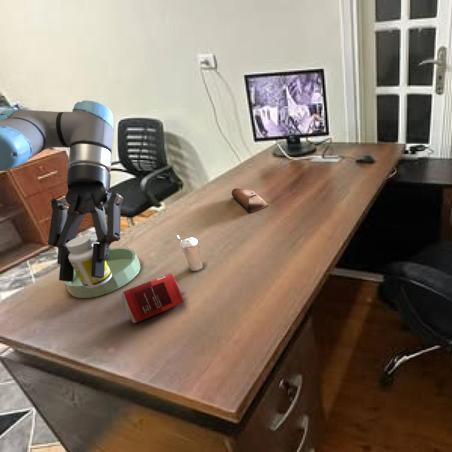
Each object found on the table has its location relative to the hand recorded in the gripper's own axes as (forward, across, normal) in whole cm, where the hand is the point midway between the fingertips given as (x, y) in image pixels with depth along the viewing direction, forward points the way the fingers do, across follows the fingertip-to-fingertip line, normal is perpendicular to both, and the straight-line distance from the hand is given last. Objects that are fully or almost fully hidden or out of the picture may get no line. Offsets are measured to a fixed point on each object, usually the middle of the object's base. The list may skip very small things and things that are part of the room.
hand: (81, 278), depth 68 cm
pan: (-6, +13, -29) cm, 32 cm away
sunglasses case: (-33, -22, -56) cm, 69 cm away
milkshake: (-5, -12, -28) cm, 31 cm away
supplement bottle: (0, 0, -5) cm, 5 cm away
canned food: (+2, -12, -16) cm, 20 cm away
